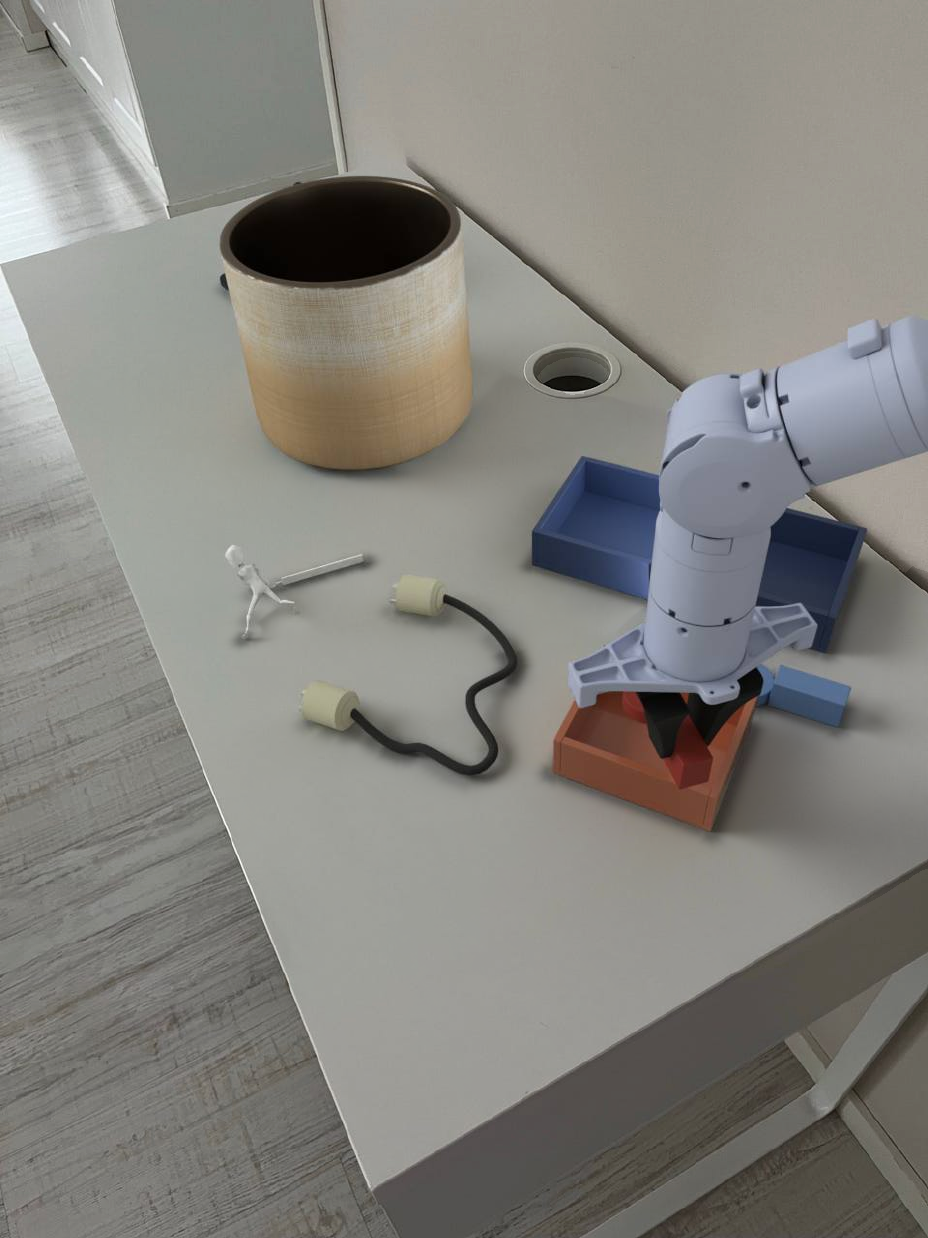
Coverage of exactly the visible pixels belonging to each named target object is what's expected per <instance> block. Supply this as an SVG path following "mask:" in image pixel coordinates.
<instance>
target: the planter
mask: <svg viewBox="0 0 928 1238" xmlns="http://www.w3.org/2000/svg"><path fill="white" fill-rule="evenodd" d="M462 227H463V226H462V218H461V214H460V211H459V209H458V208H457V206H456V205H455V203H454V202H453V201H452V200H451V199H450V198H449V197H447V195H445V194H443V193H442V192H440V191H438V190H436V189H434V188H432V187H430V186H427V185H425V184H422V183H418V182H416V181H411V180H407V179H404V178H397V177H390V176H380V175H379V176H378V175H348V176H345V175H344V176H334V177H326V178H320V179H314V180H310V181H305V182H301V183H300V184H296V185H294V184H292V185H290V186H287V187H284V188H281V189H280V188H279V189H278V190H275V191H272V192H270V193H268V194H265V195H263V196H261V197H259V198H257V199H255V200H254V201H252V202H250V203H248V204H247V205H245V206H244V207H242V208H241V209H240V210H239V211H237V212H236V213H235V214H233V215H232V216H231V218H230V219H229V220H228V221H227V222H226V224H225V225H224V227H223V228H222V230H221V232H220V237H219V241H218V245H219V246H218V247H219V252H220V257H221V262H222V266H223V270H224V273H225V275H226V279H227V283H228V288H229V291H228V292H229V296H230V301H231V305H232V309H233V314H234V317H235V323H236V327H237V332H238V336H239V341H240V345H241V350H242V354H243V359H244V364H245V369H246V373H247V378H248V383H249V387H250V392H251V396H252V401H253V405H254V409H255V410H254V411H255V413H256V417H257V420H258V422H259V425H260V427H261V430H262V432H263V434H264V436H265V438H266V439H267V440H268V441H269V443H271V444H272V445H273V447H275V448H276V449H277V450H279V451H280V452H281V453H283V454H284V455H287V456H288V457H290V458H291V459H294V460H296V461H299V462H302V463H304V464H307V465H311V466H315V467H318V468H324V469H329V470H330V469H331V470H337V471H369V470H377V469H383V468H388V467H392V466H396V465H399V464H400V465H401V464H403V463H407V462H409V461H412V460H414V459H416V458H419V457H421V456H423V455H426V454H428V453H429V452H431V451H434V450H435V449H437V448H438V447H439V446H441V445H442V444H444V443H445V442H447V441H448V440H449V439H450V438H452V436H454V434H456V432H457V431H458V430H459V429H460V428H461V427H462V426H463V424H464V422H465V421H466V419H467V418H468V416H469V414H470V411H471V407H472V401H473V387H474V386H473V370H472V358H471V357H472V355H471V343H470V342H471V341H470V330H469V329H470V328H469V318H468V317H469V316H468V304H467V301H468V300H467V289H466V287H467V286H466V275H465V259H464V258H465V257H464V242H463V241H464V240H463V239H464V238H463V228H462Z"/></svg>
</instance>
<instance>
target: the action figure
mask: <svg viewBox="0 0 928 1238" xmlns="http://www.w3.org/2000/svg"><path fill="white" fill-rule="evenodd" d="M225 558H226V560H227V561H228V562H229V564H230V565H231V567H232V568H233V569H234V570H237V571H238V570H239V569H240V570H239V571H238V573H237V577H239V579H240V581H242V583H243V585H244V586H250V588H251V590H252V593H253V595H252V598H251V602H250V605H249V608H248V612H247V615H246V627H245V632H244V634H243V635H242V636H241V638H242V639H243V640H246V639H247V638H248V634H249V633H250V631H251V628H250V621H251V619H252V614H253V611H254V610H255V608H256V606H257V604H258V603H259V601H260V599H261V598H262V596H263V594H264V595H266V596H267V597H269V598H270V599H272V600H273V601H275V602H277V603H278V604H280V606H281V605H282V606H283V605H284V604H285V605H286V604H292V605H293V609H294V613H293V614H294V616H296V615H299V614H300V611H299V609H298V607H297V604H296V602H295V601H291V600H288V599H280V598H279V597H278V596H277V595H276V594H275V592H274V591H273V590H272V588H275V587H276V586H277V585H278V584H280V583H282V585H283V586H285V585H289V584H292V583H295V582H299V581H302V580H306V579H309V578H313V577H316V576H320V575H323V574H326V573H329V572H332V571H337V570H340V569H343V568H346V567H351V566H353V565H357V564H360V563H363V562H364V555H363V553H360V554H357V555H354V556H350V557H347V558H346V557H345V558H343V559H341V560H340V559H339V560H337V561H336V560H335V561H333V562H329V563H326V564H323V565H320V566H316V567H313V568H308V569H307V570H301V571H299V572H296V573H293V574H289V575H286V576H282V577H281V581H273V580H271V581H268V580H267V578H266V577H265V576H264V575H263V573H261V572H260V570H259V568H258V567H257V565H256V563H250V564H249V563H247V564H244V563H243V560H244V557H243V550H242V548H241V547H240V546H238V545H234V544H231V545H230V546H229V548H227V550H226V552H225ZM263 581H264V582H265V583H266V584H265V583H264V582H263Z"/></svg>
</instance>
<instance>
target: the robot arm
mask: <svg viewBox="0 0 928 1238" xmlns="http://www.w3.org/2000/svg"><path fill="white" fill-rule="evenodd" d="M666 417H667V430H666V434H665V441H664V445H663V451H662V457H661V463H660V468H659V473H658V475H659V496H660V509H661V510H660V512H659V514H658V517H657V520H656V528H655V539H654V548H653V557H652V565H651V574H650V585H649V594H648V600H647V605H646V613H645V620H644V621H642V622H641V623H640V624H638V625H636V626H635V627H634V628H632V629H630V630H629V631H627V632H626V633H624V634H622V635H621V636H619V637H617V638H616V639H614V640H612V641H611V642H609V643H608V644H606V646H604V645H603V647H601V648H600V649H598V650H596V651H594V652H593V653H591V654H589V655H586V656H584V657H581V658H579V659H575V660H572V661H569V662H568V665H567V685H568V688H569V689H570V691H571V692H570V693H571V694H572V696H573V699H574V700H576V702H577V704H578V706H579V708H584V707H588V706H591V705H594V704H595V703H596V698H597V694H601V693H605V692H609V691H630V692H636V694H637V696H638V698H639V700H640V702H641V704H642V706H643V709H644V713H645V716H646V721H647V726H648V734H649V738H650V740H651V742H652V744H653V746H654V747H655V749H656V751H657V753H658V755H659V757H660V758H661V759H665V758H668V757H671V755H672V754H673V752H674V750H675V745H676V739H677V734H678V731H679V728H680V726H681V724H682V722H683V721H684V719H685V718H686V717H687V716H688V715H689V716H690V718H691V719H692V721H693V723H694V725H695V726H696V728H697V730H698V732H699V733H700V735H701V737H702V739H703V740H704V742H705V744H706V746H707V747H708V746H709V745H710V744H711V742H712V741H713V739H714V738H715V736H716V735H717V734H718V732H719V731H720V729H721V728H722V727H723V725H724V724H725V723H726V722H727V720H728V719H729V718H730V717H731V716H732V715H733V714H734V713H735V712H736V711H737V710H738V709H739V708H741V707H742V706H743V705H744V704H746V703H747V702H749V701H750V700H752V699H753V698H755V697H757V696H759V695H760V694H761V691H762V687H763V682H764V680H763V677H762V675H761V673H760V672H759V670H758V669H757V666H758V665H760V664H764V662H766V661H768V660H769V659H771V658H772V657H773V656H775V655H776V654H777V653H779V652H781V651H782V650H783V649H785V648H786V647H788V646H791V648H792V649H793V650H795V651H803V650H805V649H810V647H812V643H813V640H814V636H815V633H816V629H817V626H818V625H817V624H816V622H815V621H814V619H813V618H812V617H811V615H810V614H809V613H808V611H807V610H806V609H805V607H804V606H803V605H802V603H797V604H792V605H787V606H775V607H755V606H756V601H757V596H758V592H759V587H760V582H761V578H762V573H763V569H764V564H765V560H766V555H767V550H768V546H769V541H770V537H771V528H770V527H771V526H772V525H773V524H774V523H775V522H776V521H777V520H778V519H779V518H780V517H781V516H782V514H783V513H784V511H785V510H786V508H789V506H790V505H792V504H793V503H795V502H796V501H797V502H798V501H799V500H800V501H801V500H802V499H805V498H806V494H807V493H810V491H811V489H814V488H816V487H819V486H823V485H826V484H829V483H832V482H835V481H839V480H842V479H844V478H848V477H851V476H854V475H858V474H860V473H864V472H867V471H870V470H873V469H876V468H880V467H883V466H886V465H889V464H892V463H895V462H899V461H902V460H905V459H908V458H911V457H912V458H913V457H915V456H919V455H921V454H924V453H927V452H928V319H925V318H922V317H920V316H913V315H909V316H906V317H903V318H901V319H898V320H896V321H894V322H892V323H888V324H885V325H883V326H881V324H880V321H879V319H877V318H871V319H868V320H866V321H864V322H861V323H859V324H856V325H853V326H851V327H849V328H847V330H846V340H844V341H841V342H839V343H836V344H834V345H831V346H828V347H826V348H824V349H823V348H822V349H821V350H818V351H815V352H812V353H811V354H808V355H805V356H803V357H800V358H797V359H795V360H792V361H789V362H787V363H785V364H782V365H780V366H777V367H774V368H772V369H770V370H766V371H764V370H763V368H762V367H759V368H755V369H753V370H751V371H749V372H746V373H743V374H742V373H734V372H727V373H718V374H713V375H709V376H706V377H703V378H702V379H699V380H697V381H695V382H693V383H692V384H691V385H689V386H688V387H686V388H685V389H684V390H683V391H682V392H681V396H680V398H676V400H675V401H674V403H673V405H672V407H671V408H669V409H668V410H667V416H666ZM680 692H683V693H689V695H688V701H687V704H686V702H685V700H684V699H683V697H682V695H681V693H680Z"/></svg>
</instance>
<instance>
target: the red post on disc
mask: <svg viewBox="0 0 928 1238" xmlns="http://www.w3.org/2000/svg"><path fill="white" fill-rule="evenodd" d="M622 704H623V708H624V710H625V711H626V713H627V714H628V715H629V716H630V717H631V718H632V719H634V720H636V721H638V722H640V723H644V724H647V721H646V716H645V713H644V709H643V706H642V704H641V702H640V700H639V698H638V696H637V694H636V692H630V691H623V700H622ZM647 729H648V726H647ZM663 760H664V762H665V764H666V766H667V767H668V769H669V771H670V773H671V775H672V777H673V779H674V781H675V783H676V785H677V786H678V788H679V790H681V789H684V788H688V787H691V786H695V785H698V784H702V783H705V782H708V781H709V776H710V771H711V766H712V762H713V756H712V754H711V753H710V751H709V749H708V747H707V746H706V744H705V742H704V740H703V739H702V737H701V735H700V733H699V732H698V730H697V728H696V726H695V725H694V723H693V721H692V719H691V718H690V716H689V715H688V716H687V717H686V718H685V719H684V721H683V722H682V724H681V726H680V728H679V731H678V734H677V739H676V745H675V750H674V752H673V754H672V755H671V757H668V758H665V759H663Z"/></svg>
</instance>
